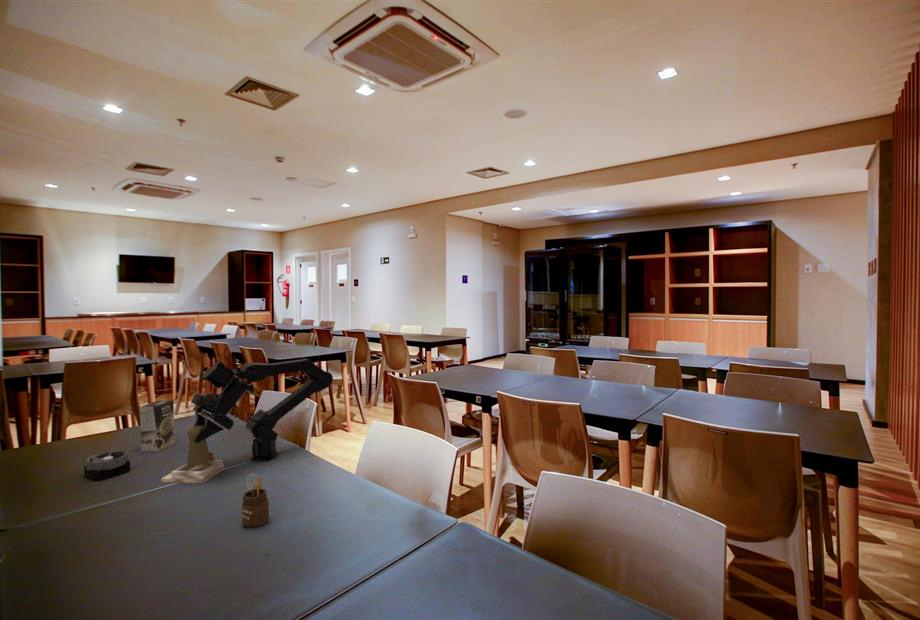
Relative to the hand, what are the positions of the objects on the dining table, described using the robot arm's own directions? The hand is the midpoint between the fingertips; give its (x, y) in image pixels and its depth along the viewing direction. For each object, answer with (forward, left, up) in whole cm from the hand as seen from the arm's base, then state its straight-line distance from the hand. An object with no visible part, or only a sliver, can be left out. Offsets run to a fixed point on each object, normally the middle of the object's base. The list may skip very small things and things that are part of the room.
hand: (192, 440), depth 131 cm
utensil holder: (-33, +23, -11) cm, 42 cm away
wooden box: (+1, -1, -11) cm, 11 cm away
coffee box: (+31, -24, -11) cm, 40 cm away
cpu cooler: (+29, -1, -11) cm, 31 cm away
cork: (-1, -1, -7) cm, 7 cm away
